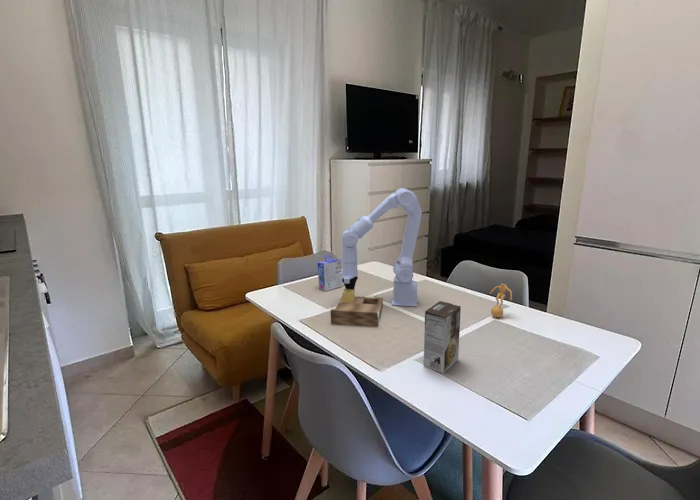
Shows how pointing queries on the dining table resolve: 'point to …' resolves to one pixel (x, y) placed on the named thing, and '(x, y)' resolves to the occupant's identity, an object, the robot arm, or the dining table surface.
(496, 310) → the figurine
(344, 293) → the cube
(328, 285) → the ink cartridge box
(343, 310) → the board
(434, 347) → the coffee box
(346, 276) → the robot arm
